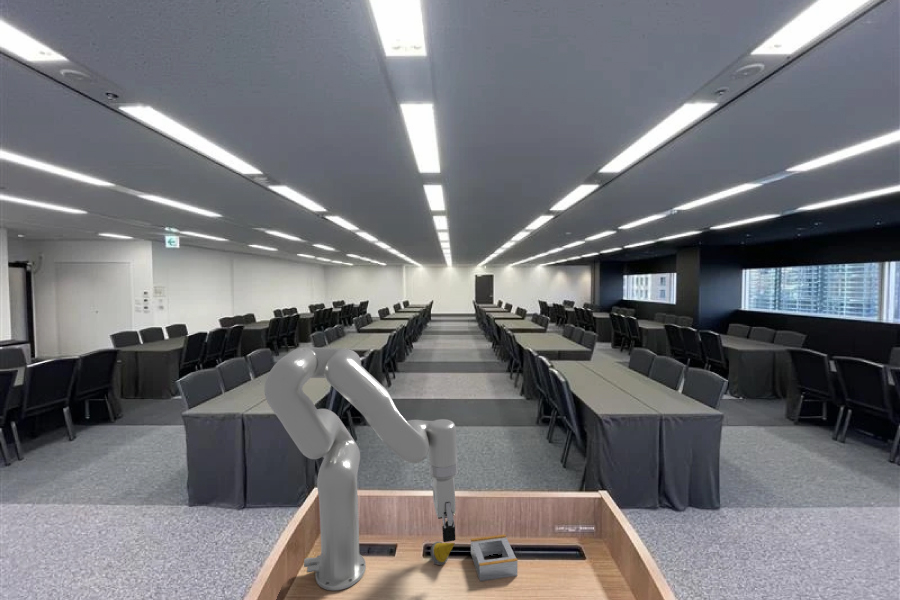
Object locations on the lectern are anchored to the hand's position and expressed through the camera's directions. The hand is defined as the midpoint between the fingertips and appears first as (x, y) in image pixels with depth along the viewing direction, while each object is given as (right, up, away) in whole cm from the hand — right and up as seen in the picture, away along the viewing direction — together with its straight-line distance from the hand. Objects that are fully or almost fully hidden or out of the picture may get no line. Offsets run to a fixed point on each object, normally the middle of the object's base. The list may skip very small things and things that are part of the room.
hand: (446, 528), depth 105 cm
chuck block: (+13, -9, -1) cm, 16 cm away
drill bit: (-1, -9, 0) cm, 9 cm away
